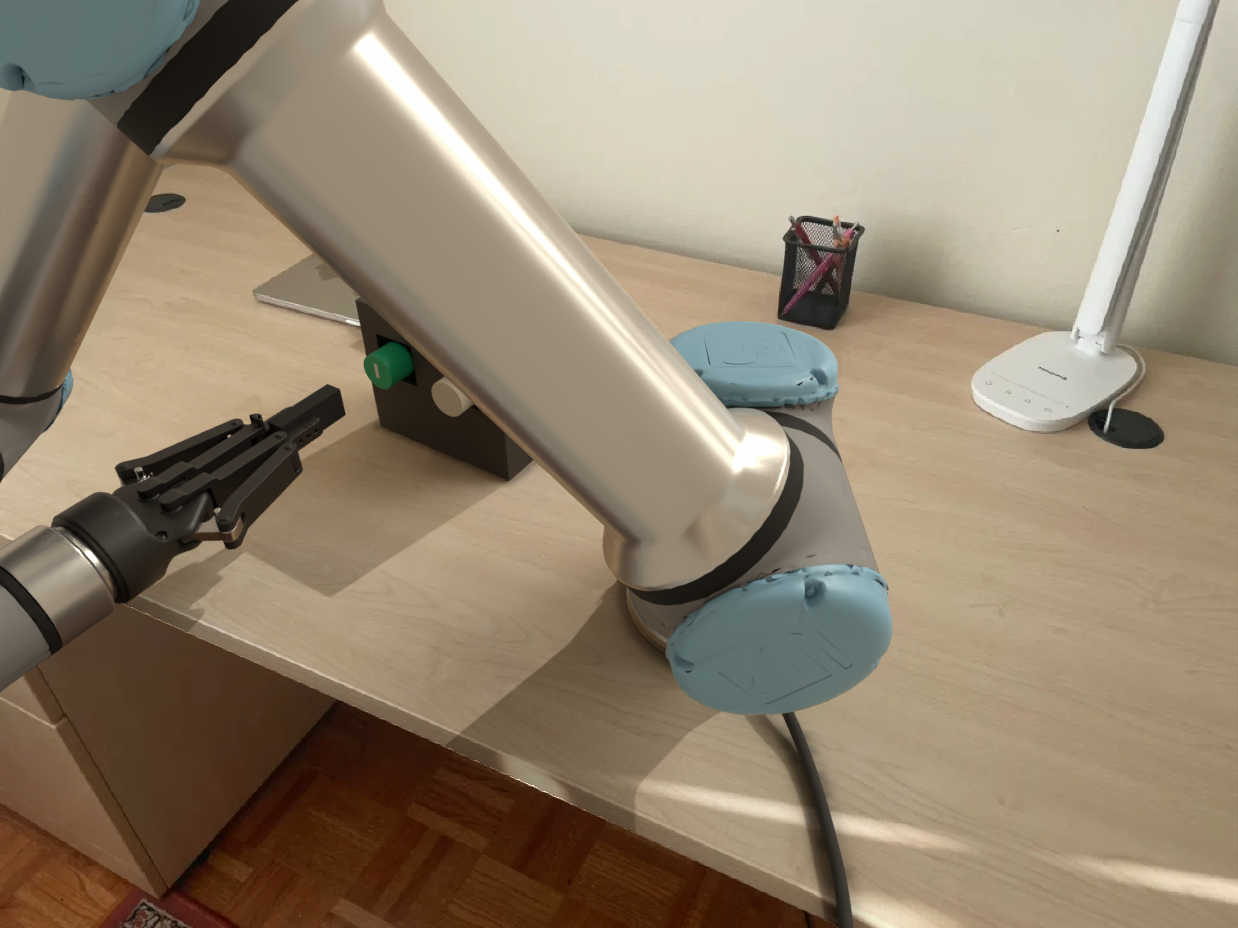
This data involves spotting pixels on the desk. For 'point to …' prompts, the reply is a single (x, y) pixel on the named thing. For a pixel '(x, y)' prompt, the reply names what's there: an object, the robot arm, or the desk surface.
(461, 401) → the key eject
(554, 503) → the desk surface
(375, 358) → the key power
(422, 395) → the dock
